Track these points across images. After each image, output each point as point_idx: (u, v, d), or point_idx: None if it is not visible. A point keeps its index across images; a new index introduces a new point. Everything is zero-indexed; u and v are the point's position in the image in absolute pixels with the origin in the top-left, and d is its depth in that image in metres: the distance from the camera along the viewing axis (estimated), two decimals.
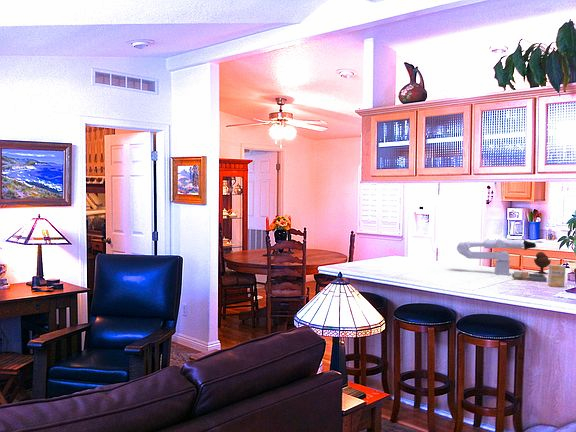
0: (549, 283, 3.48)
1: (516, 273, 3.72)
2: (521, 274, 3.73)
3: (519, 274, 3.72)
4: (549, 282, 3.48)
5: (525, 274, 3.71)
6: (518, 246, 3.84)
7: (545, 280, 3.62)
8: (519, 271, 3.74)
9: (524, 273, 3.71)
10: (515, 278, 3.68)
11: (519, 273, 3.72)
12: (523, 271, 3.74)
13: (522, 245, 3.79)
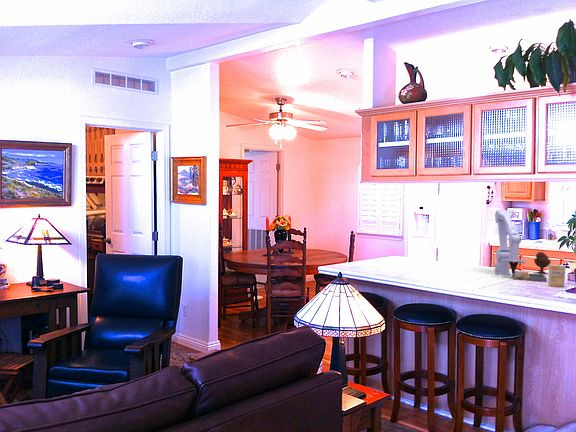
0: (549, 283, 3.48)
1: (517, 273, 3.72)
2: None
3: (520, 274, 3.72)
4: (549, 282, 3.48)
5: (525, 274, 3.71)
6: None
7: (545, 280, 3.62)
8: (520, 271, 3.74)
9: (524, 273, 3.71)
10: (515, 278, 3.68)
11: (520, 273, 3.72)
12: (523, 271, 3.74)
13: (502, 260, 3.76)
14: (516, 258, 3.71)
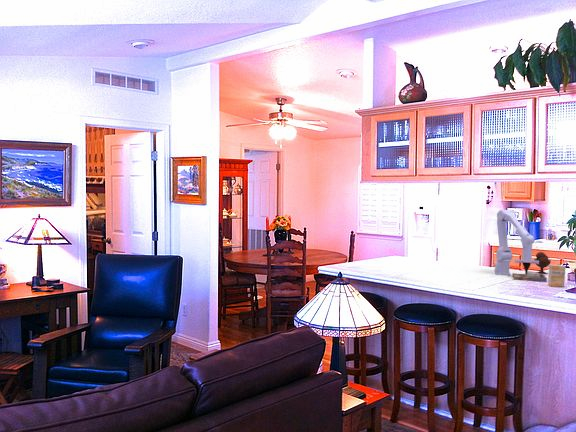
0: (549, 283, 3.48)
1: (529, 274, 3.70)
2: None
3: (531, 275, 3.69)
4: (549, 282, 3.48)
5: None
6: None
7: (545, 280, 3.62)
8: (532, 272, 3.72)
9: (536, 276, 3.69)
10: (515, 278, 3.68)
11: (532, 274, 3.69)
12: None
13: None
14: (529, 259, 3.69)
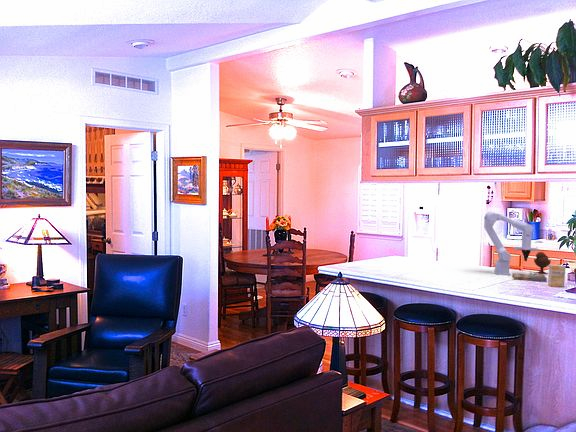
0: (549, 283, 3.48)
1: (531, 274, 3.69)
2: None
3: None
4: (549, 282, 3.48)
5: None
6: None
7: (545, 280, 3.62)
8: None
9: (538, 276, 3.68)
10: (515, 278, 3.68)
11: (534, 276, 3.69)
12: None
13: None
14: (528, 246, 3.85)
